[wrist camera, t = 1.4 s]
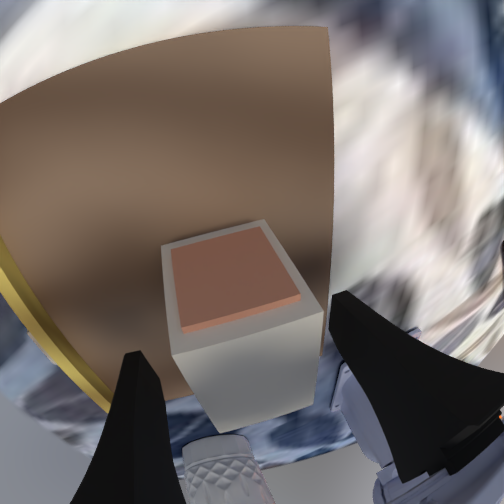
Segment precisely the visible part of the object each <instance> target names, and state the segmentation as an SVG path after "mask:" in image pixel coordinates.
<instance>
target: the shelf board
mask: <svg viewBox="0 0 504 504" xmlns="http://www.w3.org/2000/svg"><path fill="white" fill-rule="evenodd" d="M333 206H334V118H333V93H332V75H331V60H330V47H329V36H328V27H314V26H276V27H255V28H242V29H232V30H223V31H215V32H208V33H201V34H195V35H189V36H183V37H178V38H173V39H168V40H164V41H159V42H155V43H151V44H147V45H143V46H139V47H135V48H132V49H128V50H125V51H121V52H118V53H115V54H111V55H108V56H105V57H102V58H99V59H96V60H94V61H91V62H88V63H85V64H83V65H80V66H77V67H75V68H72V69H70V70H67V71H65V72H62V73H60V74H58V75H55V76H53V77H51V78H49V79H47V80H44V81H42V82H40V83H38V84H36V85H34V86H32V87H30V88H28V89H26V90H24V91H22V92H20V93H18V94H16V95H15V96H13V97H11V98H9V99H7V100H6V101H4V102H2V103H0V292H1V294H2V295H3V297H4V298H5V299H6V301H7V302H8V304H9V305H10V307H11V308H12V309H13V311H14V312H15V313H16V315H17V316H18V318H19V319H20V320H21V322H22V323H23V324H24V325H25V327H26V328H27V329H28V330H27V334H28V335H29V336H30V338H31V339H32V340H33V341H34V342H35V344H36V345H37V346H38V347H39V348H40V349H41V351H42V352H43V353H44V354H45V355H46V356H47V357H48V359H49V360H50V361H51V362H52V363H53V364H57V365H58V366H59V367H60V368H61V369H62V370H63V371H64V372H65V373H66V374H67V375H68V376H69V377H70V378H71V379H72V380H73V381H74V382H75V383H76V384H77V385H78V386H79V387H80V388H81V389H82V390H83V391H84V392H85V393H86V394H87V395H88V396H89V397H90V398H91V399H92V400H93V401H94V402H96V403H97V404H98V405H99V406H100V407H101V408H102V409H103V410H104V411H106V412H107V413H109V410H110V406H111V402H112V399H113V395H114V392H115V388H116V385H117V381H118V377H119V373H120V369H121V365H122V361H123V357H124V355H125V353H129V352H134V351H138V350H141V352H142V353H143V355H144V356H145V358H146V359H147V361H148V362H149V364H150V365H151V366H152V368H153V369H154V371H155V372H156V374H157V375H158V377H159V378H160V381H161V386H162V390H163V395H164V400H165V401H166V400H171V399H175V398H180V397H184V396H189V395H193V394H194V393H193V391H192V390H191V388H190V386H189V385H188V383H187V381H186V380H185V378H184V376H183V375H182V373H181V371H180V370H179V368H178V366H177V364H176V363H175V361H174V359H173V357H172V355H171V347H170V340H169V332H168V323H167V314H166V304H165V294H164V283H163V270H162V256H161V245H165V244H169V243H173V242H176V241H180V240H184V239H188V238H191V237H195V236H199V235H203V234H207V233H210V232H214V231H218V230H222V229H226V228H230V227H234V226H238V225H242V224H246V223H250V222H254V221H258V220H262V219H264V220H265V221H266V223H267V224H268V226H269V227H270V229H271V230H272V232H273V233H274V235H275V236H276V238H277V239H278V241H279V242H280V244H281V245H282V247H283V248H284V250H285V251H286V253H287V254H288V256H289V258H290V259H291V261H292V262H293V264H294V265H295V267H296V268H297V270H298V271H299V273H300V275H301V276H302V278H303V279H304V281H305V282H306V284H307V285H308V287H309V289H310V290H311V292H312V293H313V295H314V296H315V298H316V300H317V301H318V303H319V304H320V306H321V308H322V309H323V311H324V314H323V326H322V336H321V346H320V355H319V356H322V352H323V344H324V335H325V326H326V316H327V306H328V294H329V282H330V268H331V252H332V233H333Z"/></svg>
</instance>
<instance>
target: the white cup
mask: <svg viewBox="0 0 504 504" xmlns="http://www.w3.org/2000/svg"><path fill="white" fill-rule="evenodd" d="M182 458H183V463H184V469H185V474H184V476H185V481H186V489H187V495H188V500H189V504H275V501H274V499H273V497H272V494H271V492H270V490H269V488H268V485H267V483H266V480H265V478H264V476H263V474H262V472H261V469H260V467H259V465H258V463H257V461H256V460H255V459H254V455H253V453H252V450H251V447H250V445H249V442H248V440H247V439H246V438H245V437H244V436H240V435H234V434H231V435H217V436H212V437H206V438H202V439H199V440H196V441H193V442H190V443H189V444H187V445H186V446H184V447H183V448H182Z"/></svg>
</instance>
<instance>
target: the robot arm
mask: <svg viewBox="0 0 504 504" xmlns="http://www.w3.org/2000/svg"><path fill="white" fill-rule="evenodd" d="M328 329H329V332H330V334H331V336H332V338H333V340H334V342H335V345H336V347H337V349H338V351H339V353H340V354H341V356H342V357H343V359H344V361H345V363H343V364H342V365H341V368H340V372H339V376H338V380H337V384H336V388H335V392H334V396H333V400H332V403H331V407H330V410H331V412H335V411H338V410H340V409H341V411H342V413H343V415H344V417H345V419H346V421H347V423H348V425H349V427H350V429H351V431H352V433H353V435H354V437H355V438H356V440H357V442H358V444H359V446H360V448H361V450H362V452H363V453H364V455H365V456H366V457H367V458H368V459H370V460H371V461H373V462H376V463H379V464H380V466H381V468H384V467H386V468H384V469H383V470H381V471H379V472H378V473H376V474H377V476H378V478H377V480H376V481H375V485H374V489H373V502H374V504H500V503H501V501H502V499H503V497H504V416H503V417H502V418H499V416H500V415H501V414H502V412H501V411H500V409H501V408H502V407H503V406H504V373H500V372H495V371H492V370H487V369H484V368H481V367H477V366H474V365H471V364H468V363H466V362H463V361H461V360H458V359H456V358H453V357H451V356H448V355H446V354H444V353H442V352H440V351H438V350H436V349H434V348H432V347H430V346H428V345H426V344H424V343H423V342H421V341H419V340H418V339H419V337H420V335H421V330H420V329H415V330H413V331H412V332H410V333H406V332H404V331H403V330H401V329H400V328H398V327H397V326H395V325H394V324H392V323H391V322H389V321H388V320H387V319H385V318H384V317H382V316H381V315H379V314H378V313H377V312H375V311H374V310H373V309H371V308H370V307H369V306H367V305H366V304H365V303H363V302H362V301H360V300H359V299H358V298H356V297H355V296H354V295H352V294H351V293H350V292H348V291H347V290H346V291H343V292H340V293H337V294H334V295H332V302H331V312H330V320H329V328H328ZM387 466H388V467H387ZM70 504H186V502H185V499H184V496H183V493H182V490H181V487H180V484H179V480H178V477H177V474H176V470H175V466H174V463H173V458H172V452H171V445H170V438H169V430H168V422H167V414H166V405H165V400H164V395H163V390H162V386H161V381H160V378H159V377H158V375H157V374H156V372H155V371H154V369H153V368H152V366H151V365H150V364H149V362H148V361H147V359H146V358H145V356H144V355H143V353H142V352H141V350H138V351H134V352H129V353H125V355H124V357H123V361H122V365H121V369H120V373H119V377H118V381H117V385H116V388H115V392H114V395H113V399H112V402H111V406H110V410H109V413H108V416H107V419H106V422H105V425H104V429H103V432H102V435H101V437H100V440H99V443H98V446H97V448H96V451H95V453H94V456H93V458H92V461H91V463H90V465H89V467H88V470H87V472H86V474H85V477H84V478H83V480H82V482H81V484H80V486H79V488H78V490H77V492H76V494H75V495H74V497H73V499H72V501H71V502H70Z"/></svg>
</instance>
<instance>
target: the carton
mask: <svg viewBox="0 0 504 504" xmlns="http://www.w3.org/2000/svg"><path fill="white" fill-rule="evenodd" d="M161 256H162V270H163V283H164V294H165V304H166V314H167V323H168V332H169V340H170V347H171V355H172V357H173V359H174V361H175V363H176V364H177V366H178V368H179V370H180V371H181V373H182V375H183V376H184V378H185V380H186V381H187V383H188V385H189V386H190V388H191V390H192V391H193V393H194V395H195V396H196V398H197V399H198V401H199V403H200V404H201V406H202V407H203V409H204V410H205V412H206V414H207V415H208V417H209V418H210V420H211V421H212V423H213V424H214V426H215V427H216V429H217V430H218V432H219V433H223V432H227V431H231V430H235V429H239V428H242V427H246V426H249V425H253V424H256V423H260V422H263V421H266V420H269V419H273V418H276V417H279V416H282V415H285V414H288V413H291V412H294V411H296V410H299V409H302V408H305V407H308V406H310V405H313V402H314V395H315V387H316V380H317V372H318V363H319V355H320V346H321V336H322V326H323V314H324V311H323V309H322V308H321V306H320V304H319V303H318V301H317V300H316V298H315V296H314V295H313V293H312V292H311V290H310V289H309V287H308V285H307V284H306V282H305V281H304V279H303V278H302V276H301V275H300V273H299V271H298V270H297V268H296V267H295V265H294V264H293V262H292V261H291V259H290V258H289V256H288V254H287V253H286V251H285V250H284V248H283V247H282V245H281V244H280V242H279V241H278V239H277V238H276V236H275V235H274V233H273V232H272V230H271V229H270V227H269V226H268V224H267V223H266V221H265V220H264V219H262V220H258V221H254V222H250V223H246V224H242V225H238V226H234V227H230V228H226V229H222V230H218V231H214V232H210V233H207V234H203V235H199V236H195V237H191V238H188V239H184V240H180V241H176V242H173V243H169V244H165V245H161Z"/></svg>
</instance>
